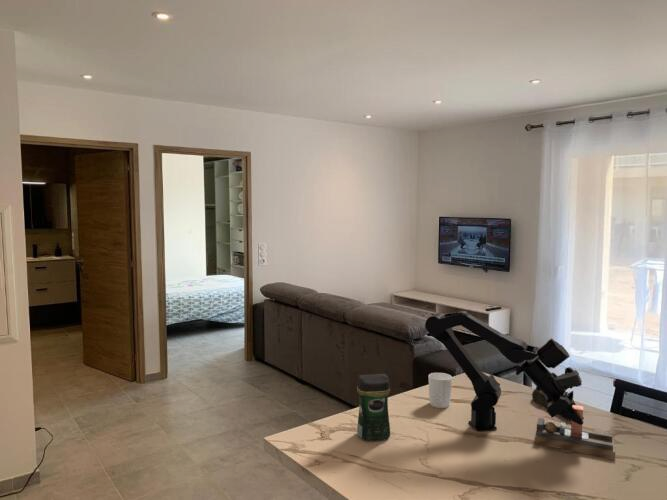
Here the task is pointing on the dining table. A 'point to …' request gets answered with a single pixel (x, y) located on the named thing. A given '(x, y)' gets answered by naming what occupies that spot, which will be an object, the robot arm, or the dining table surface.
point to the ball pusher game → (576, 441)
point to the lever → (574, 426)
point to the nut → (550, 427)
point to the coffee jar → (373, 407)
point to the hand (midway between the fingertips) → (582, 421)
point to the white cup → (440, 389)
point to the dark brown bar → (540, 398)
